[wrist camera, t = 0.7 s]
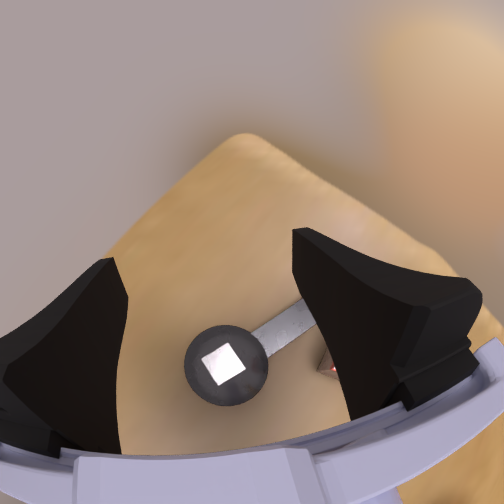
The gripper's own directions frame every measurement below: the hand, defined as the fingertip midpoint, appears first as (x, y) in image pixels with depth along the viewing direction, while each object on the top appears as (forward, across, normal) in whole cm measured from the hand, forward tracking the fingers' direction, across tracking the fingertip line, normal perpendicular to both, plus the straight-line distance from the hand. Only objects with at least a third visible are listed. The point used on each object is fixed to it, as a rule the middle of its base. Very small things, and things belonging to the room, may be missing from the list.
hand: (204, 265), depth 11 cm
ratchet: (+8, -5, +14) cm, 17 cm away
